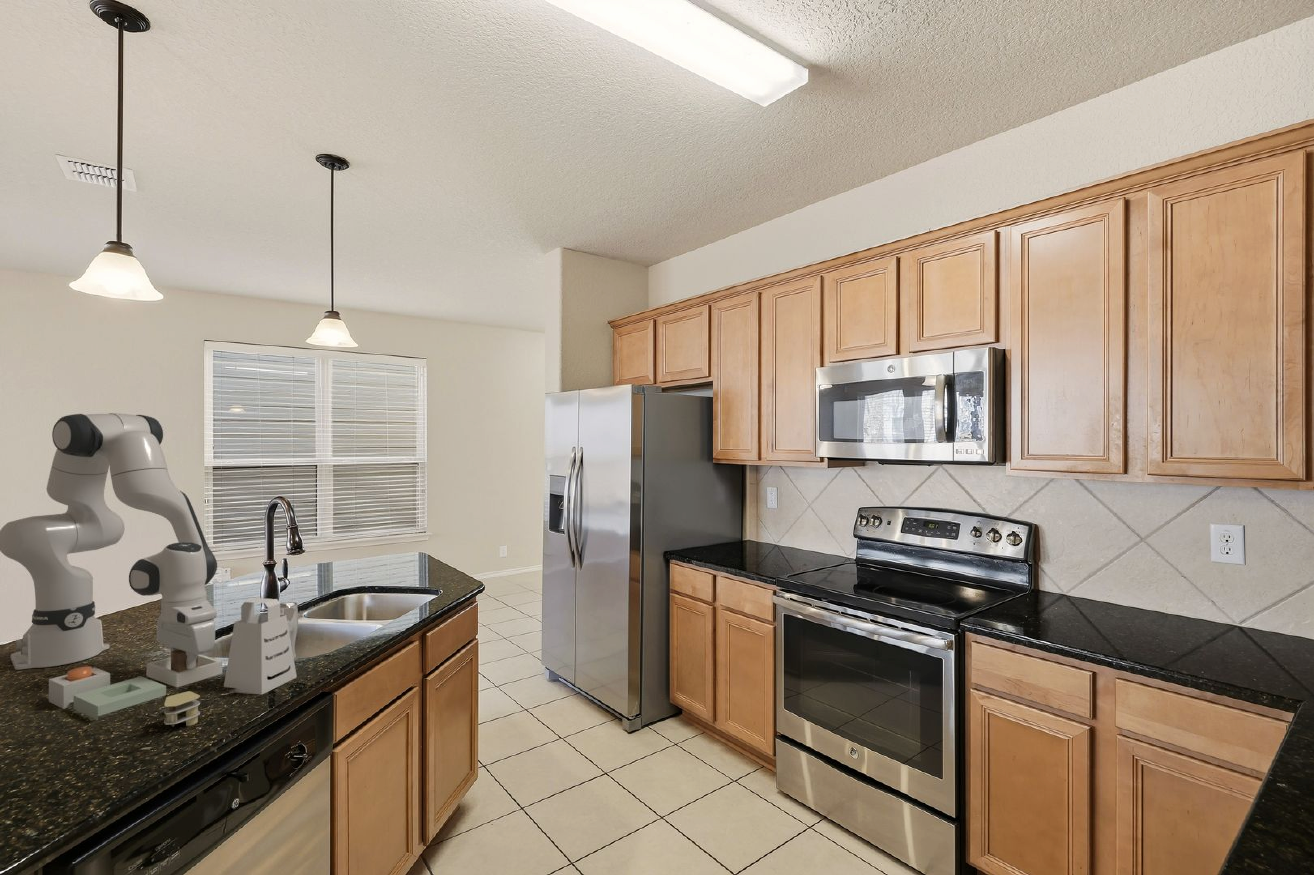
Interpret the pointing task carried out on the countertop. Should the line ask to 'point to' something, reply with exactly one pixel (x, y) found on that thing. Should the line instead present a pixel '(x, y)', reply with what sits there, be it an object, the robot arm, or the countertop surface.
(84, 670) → the button
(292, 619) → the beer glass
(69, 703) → the button housing
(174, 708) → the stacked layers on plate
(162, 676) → the tote
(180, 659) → the walnut block
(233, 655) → the grater
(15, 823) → the countertop surface
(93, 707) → the pallet plate
